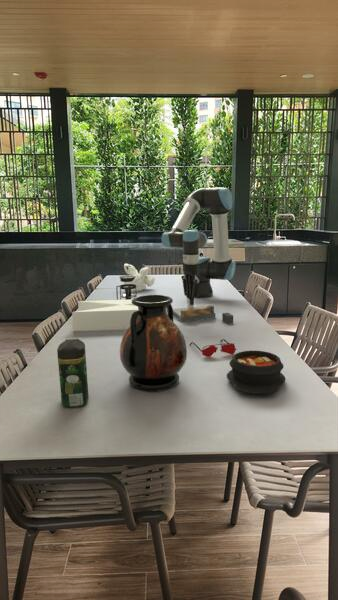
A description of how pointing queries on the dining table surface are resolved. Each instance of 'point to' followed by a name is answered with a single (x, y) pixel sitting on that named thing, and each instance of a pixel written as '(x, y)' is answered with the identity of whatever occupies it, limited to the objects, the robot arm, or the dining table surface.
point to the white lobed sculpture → (139, 278)
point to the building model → (103, 315)
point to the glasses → (211, 349)
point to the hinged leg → (197, 311)
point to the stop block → (227, 318)
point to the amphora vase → (153, 345)
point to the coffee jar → (73, 373)
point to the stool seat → (200, 317)
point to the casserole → (256, 372)
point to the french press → (127, 289)
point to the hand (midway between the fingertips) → (190, 310)
